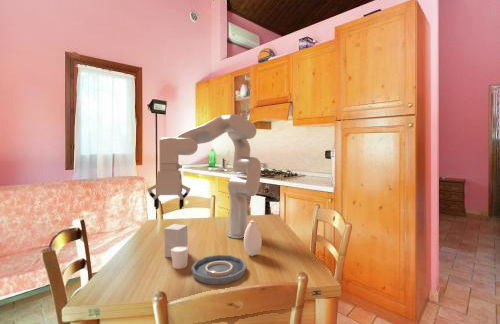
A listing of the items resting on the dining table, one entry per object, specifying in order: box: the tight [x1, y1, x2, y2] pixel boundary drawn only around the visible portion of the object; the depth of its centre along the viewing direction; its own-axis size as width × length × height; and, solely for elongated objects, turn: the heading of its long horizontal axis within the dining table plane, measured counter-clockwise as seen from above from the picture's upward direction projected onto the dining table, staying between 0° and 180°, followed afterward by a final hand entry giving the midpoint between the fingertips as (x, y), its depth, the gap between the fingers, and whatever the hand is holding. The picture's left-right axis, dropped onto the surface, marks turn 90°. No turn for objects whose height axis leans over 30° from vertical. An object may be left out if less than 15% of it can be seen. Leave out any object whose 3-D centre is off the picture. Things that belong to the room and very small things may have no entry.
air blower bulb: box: [243, 215, 263, 257], centre depth 118 cm, size 8×8×18 cm
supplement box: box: [163, 223, 189, 259], centre depth 118 cm, size 7×7×13 cm
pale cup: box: [171, 246, 189, 270], centre depth 108 cm, size 7×7×7 cm
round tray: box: [191, 254, 247, 286], centre depth 103 cm, size 20×20×2 cm
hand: (169, 208), depth 112 cm, fingers open, 9 cm apart
